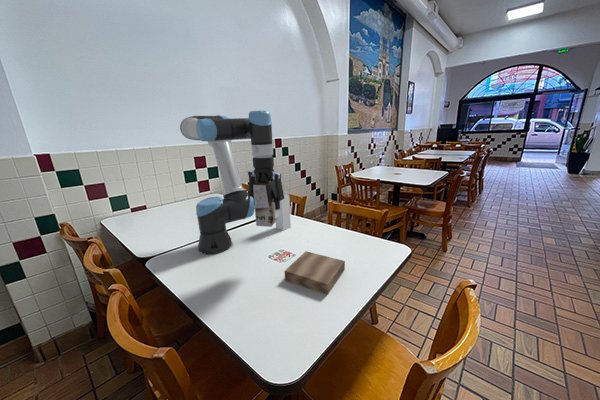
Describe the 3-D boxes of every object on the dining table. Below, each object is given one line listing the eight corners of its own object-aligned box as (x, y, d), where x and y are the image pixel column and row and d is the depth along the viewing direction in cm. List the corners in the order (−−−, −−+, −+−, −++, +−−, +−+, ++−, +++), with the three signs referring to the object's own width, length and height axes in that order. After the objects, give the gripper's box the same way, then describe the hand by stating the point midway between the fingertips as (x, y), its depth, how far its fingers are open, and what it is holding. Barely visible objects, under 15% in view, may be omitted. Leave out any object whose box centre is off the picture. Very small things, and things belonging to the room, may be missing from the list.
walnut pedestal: (285, 280, 89) (284, 270, 88) (306, 259, 102) (305, 251, 101) (327, 294, 80) (327, 284, 79) (344, 270, 94) (344, 261, 92)
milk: (283, 230, 131) (280, 191, 124) (275, 228, 135) (272, 189, 128) (291, 227, 135) (289, 189, 129) (283, 224, 139) (281, 187, 133)
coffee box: (272, 227, 90) (269, 184, 85) (255, 226, 91) (252, 184, 86) (279, 218, 98) (276, 179, 94) (264, 217, 100) (261, 179, 95)
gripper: (234, 156, 89) (240, 214, 96) (280, 158, 79) (284, 223, 86) (248, 154, 95) (253, 209, 102) (292, 156, 85) (295, 216, 92)
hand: (267, 215), depth 94 cm, fingers closed on coffee box, 8 cm apart
